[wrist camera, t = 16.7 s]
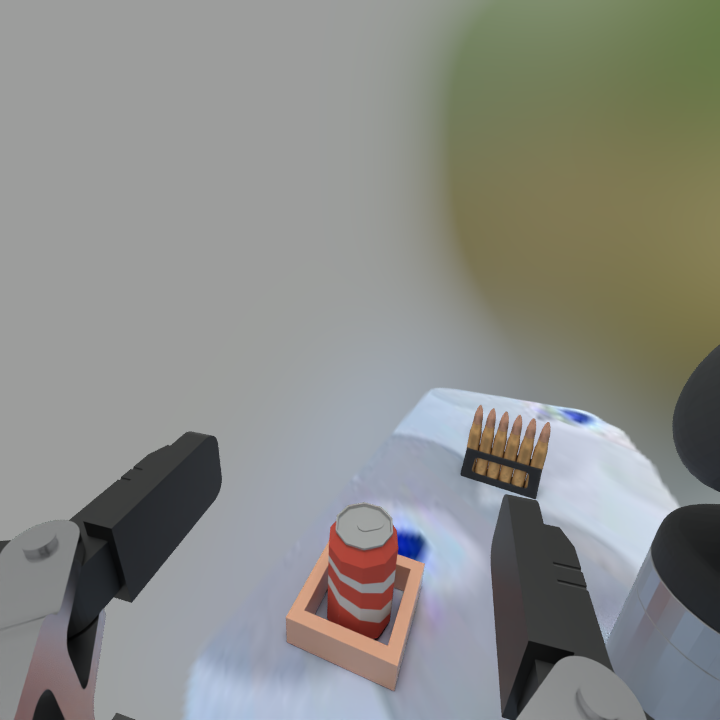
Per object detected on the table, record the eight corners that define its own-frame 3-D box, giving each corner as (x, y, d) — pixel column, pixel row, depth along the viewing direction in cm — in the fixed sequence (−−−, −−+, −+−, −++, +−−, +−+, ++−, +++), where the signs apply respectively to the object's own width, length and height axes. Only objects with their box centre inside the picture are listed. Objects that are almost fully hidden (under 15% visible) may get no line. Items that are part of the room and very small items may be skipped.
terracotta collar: (333, 554, 46) (333, 532, 44) (421, 586, 43) (424, 563, 41) (287, 642, 37) (285, 617, 35) (394, 691, 34) (397, 666, 32)
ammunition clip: (460, 475, 60) (472, 406, 55) (462, 468, 61) (475, 400, 57) (535, 499, 56) (556, 427, 51) (536, 491, 57) (556, 420, 53)
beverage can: (399, 635, 38) (411, 543, 33) (334, 654, 36) (337, 560, 31) (378, 579, 43) (386, 493, 38) (320, 594, 41) (321, 505, 36)
